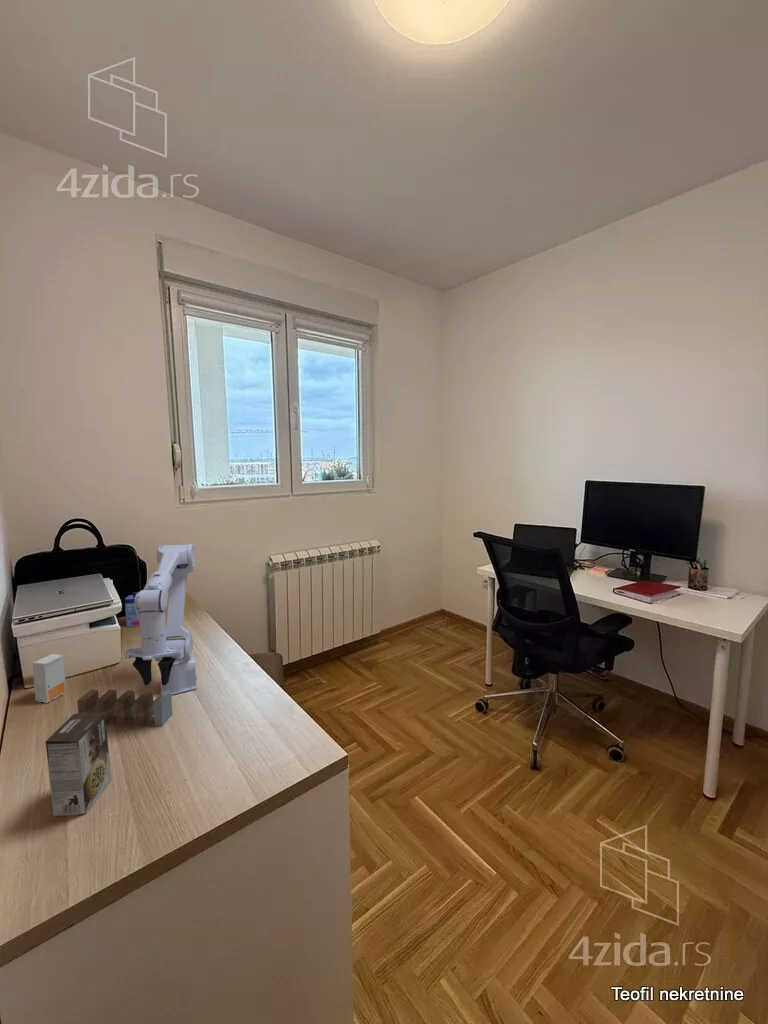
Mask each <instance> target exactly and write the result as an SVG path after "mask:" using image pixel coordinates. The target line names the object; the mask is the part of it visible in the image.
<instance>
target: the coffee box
mask: <svg viewBox="0 0 768 1024" xmlns="http://www.w3.org/2000/svg"><path fill="white" fill-rule="evenodd" d="M108 742H109V741H108V731H107V725H106V720H105V713H78V712H77V713H73V714H72V715H71V716H70V718H68V719H67V720H66V721H65V722H64V723H63V724H62V725H60V727H59V728H58V729H57V730H55V732H54V733H53V734H52V735H50V736H49V738H47V739H46V740H45V748H46V759H47V766H48V768H47V769H48V777H49V785H50V786H49V787H50V795H51V796H50V797H51V805H52V814H53V815H52V816H53V817H61V816H62V817H63V816H79V815H78V814H84V815H86V814H88V813H89V811H90V810H91V808H92V807H93V805H95V803H96V801H97V800H98V799H99V798H100V795H102V793H103V792H104V791H105V789H106V787H107V786H108V785H109V783H110V782H111V781H112V775H111V765H110V763H111V762H110V754H109V753H110V752H109V743H108ZM94 802H95V803H94ZM88 810H89V811H88ZM85 813H86V814H85Z"/></svg>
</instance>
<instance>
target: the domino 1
mask: <svg viewBox="0 0 768 1024" xmlns="http://www.w3.org/2000/svg"><path fill="white" fill-rule="evenodd" d="M99 698H100V696H99V690H98V689H90V690H89V691H87V692H86V693H84V694H83V695H82V696H80V697H79V698H78V699H77V700H76V701H77V713H97V705H96V700H97V699H99Z"/></svg>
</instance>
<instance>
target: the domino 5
mask: <svg viewBox="0 0 768 1024" xmlns="http://www.w3.org/2000/svg"><path fill="white" fill-rule="evenodd" d="M153 703H154V715H153V717H154V726H155V727H164V725H165V724H166V723H167V722H168V721H169V720H168V719H170V718H171V717H172V716H173V701H172V695H171V691H163V692H162V693H161V692H160V694H159V695H158V696H156V698H155V699H153Z"/></svg>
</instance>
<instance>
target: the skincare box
mask: <svg viewBox="0 0 768 1024" xmlns="http://www.w3.org/2000/svg"><path fill="white" fill-rule="evenodd" d="M64 658H65V657H64V654H60V655H59V654H50V655H48V656H46V657H43V658H41V659H40V660H38V659H37V660H35V661H33V662H32V663H31V664H32V673H33V675H32V676H33V685H34V686H33V688H34V697H35V698H34V699H35V702H36V701H38V702H37V703H41V702H44V703H43V704H48V702H49V703H50V702H51V700H52V701H53V699H54V700H55V699H57V698H59V697H61V696H62V695H65V694H66V693H67V688H66V687H67V683H66V675H65V673H66V671H65V659H64ZM60 695H61V696H60Z"/></svg>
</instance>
